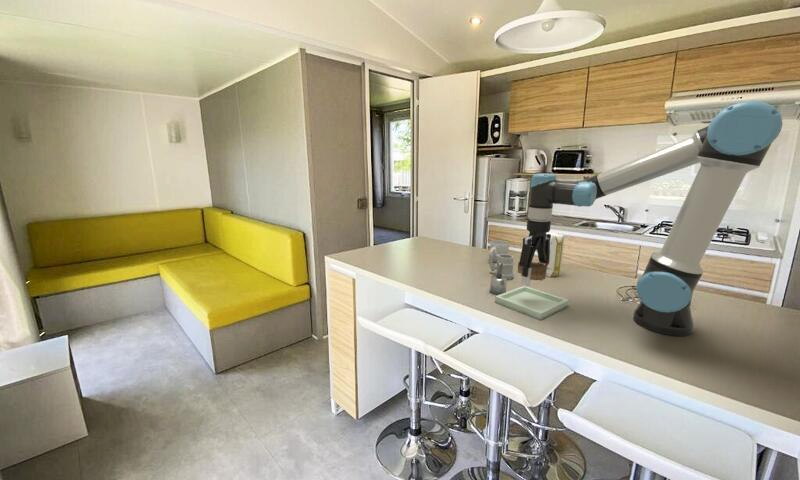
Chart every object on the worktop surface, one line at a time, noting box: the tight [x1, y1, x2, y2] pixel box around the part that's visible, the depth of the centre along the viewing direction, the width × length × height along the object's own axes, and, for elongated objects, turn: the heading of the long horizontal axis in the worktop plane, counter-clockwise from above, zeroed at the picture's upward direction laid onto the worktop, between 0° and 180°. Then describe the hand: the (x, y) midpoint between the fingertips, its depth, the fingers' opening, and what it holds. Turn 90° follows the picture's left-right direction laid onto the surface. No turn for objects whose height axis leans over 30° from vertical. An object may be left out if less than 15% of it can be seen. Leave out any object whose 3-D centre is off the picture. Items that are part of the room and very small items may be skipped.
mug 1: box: [488, 240, 510, 263], centre depth 174 cm, size 13×9×10 cm
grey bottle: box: [489, 262, 508, 296], centre depth 133 cm, size 6×6×12 cm
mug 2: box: [489, 249, 515, 281], centre depth 152 cm, size 8×12×12 cm, turn 39°
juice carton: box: [545, 231, 566, 278], centre depth 154 cm, size 8×9×19 cm
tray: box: [494, 285, 570, 321], centre depth 123 cm, size 18×18×2 cm
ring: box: [517, 261, 547, 281], centre depth 121 cm, size 10×8×4 cm
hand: (532, 282), depth 122 cm, fingers closed on ring, 8 cm apart
